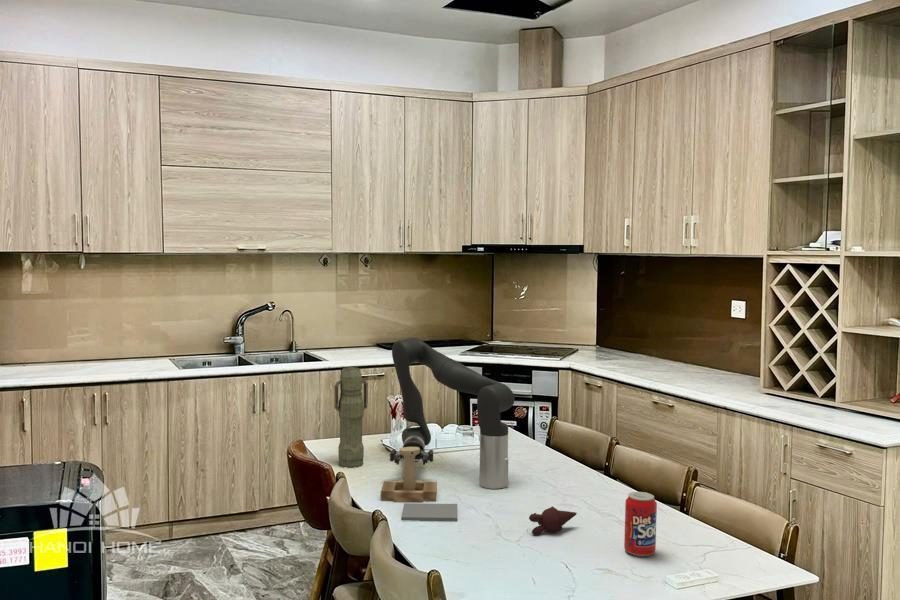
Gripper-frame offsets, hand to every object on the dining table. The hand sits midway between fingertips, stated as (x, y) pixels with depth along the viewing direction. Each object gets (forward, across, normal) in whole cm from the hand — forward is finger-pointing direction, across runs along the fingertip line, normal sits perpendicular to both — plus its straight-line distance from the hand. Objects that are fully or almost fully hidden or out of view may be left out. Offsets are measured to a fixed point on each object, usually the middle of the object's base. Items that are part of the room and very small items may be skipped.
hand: (410, 461), depth 248 cm
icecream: (+35, +42, +9) cm, 55 cm away
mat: (+22, +7, +9) cm, 25 cm away
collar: (+7, 0, +9) cm, 11 cm away
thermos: (-27, -23, +9) cm, 37 cm away
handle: (+7, 0, +9) cm, 11 cm away
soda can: (+49, +62, +9) cm, 80 cm away
